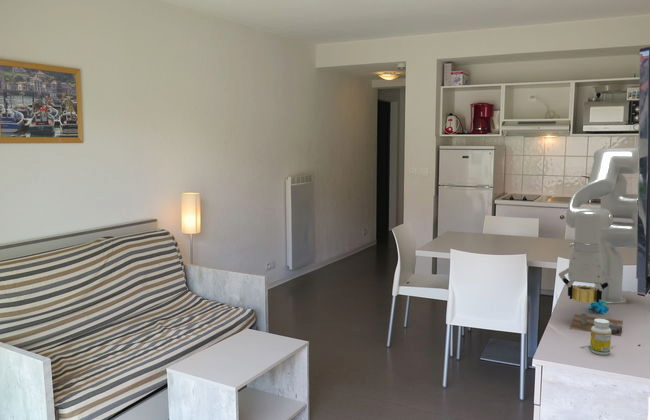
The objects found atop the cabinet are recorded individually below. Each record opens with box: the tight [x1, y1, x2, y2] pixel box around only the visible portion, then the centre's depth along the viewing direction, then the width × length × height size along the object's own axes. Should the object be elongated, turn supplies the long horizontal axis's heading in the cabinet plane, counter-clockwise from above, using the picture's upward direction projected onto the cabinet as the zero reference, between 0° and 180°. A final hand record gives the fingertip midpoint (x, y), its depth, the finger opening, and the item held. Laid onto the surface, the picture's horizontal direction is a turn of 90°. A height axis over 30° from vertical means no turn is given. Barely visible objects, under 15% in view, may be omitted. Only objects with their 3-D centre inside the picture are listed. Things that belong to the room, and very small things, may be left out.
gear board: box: [568, 313, 624, 337], centre depth 179 cm, size 17×15×5 cm
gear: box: [588, 300, 609, 315], centre depth 195 cm, size 11×6×10 cm
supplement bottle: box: [589, 319, 612, 356], centre depth 158 cm, size 5×5×10 cm
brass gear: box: [571, 284, 597, 304], centre depth 178 cm, size 7×7×4 cm
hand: (584, 299), depth 178 cm, fingers closed on brass gear, 7 cm apart
